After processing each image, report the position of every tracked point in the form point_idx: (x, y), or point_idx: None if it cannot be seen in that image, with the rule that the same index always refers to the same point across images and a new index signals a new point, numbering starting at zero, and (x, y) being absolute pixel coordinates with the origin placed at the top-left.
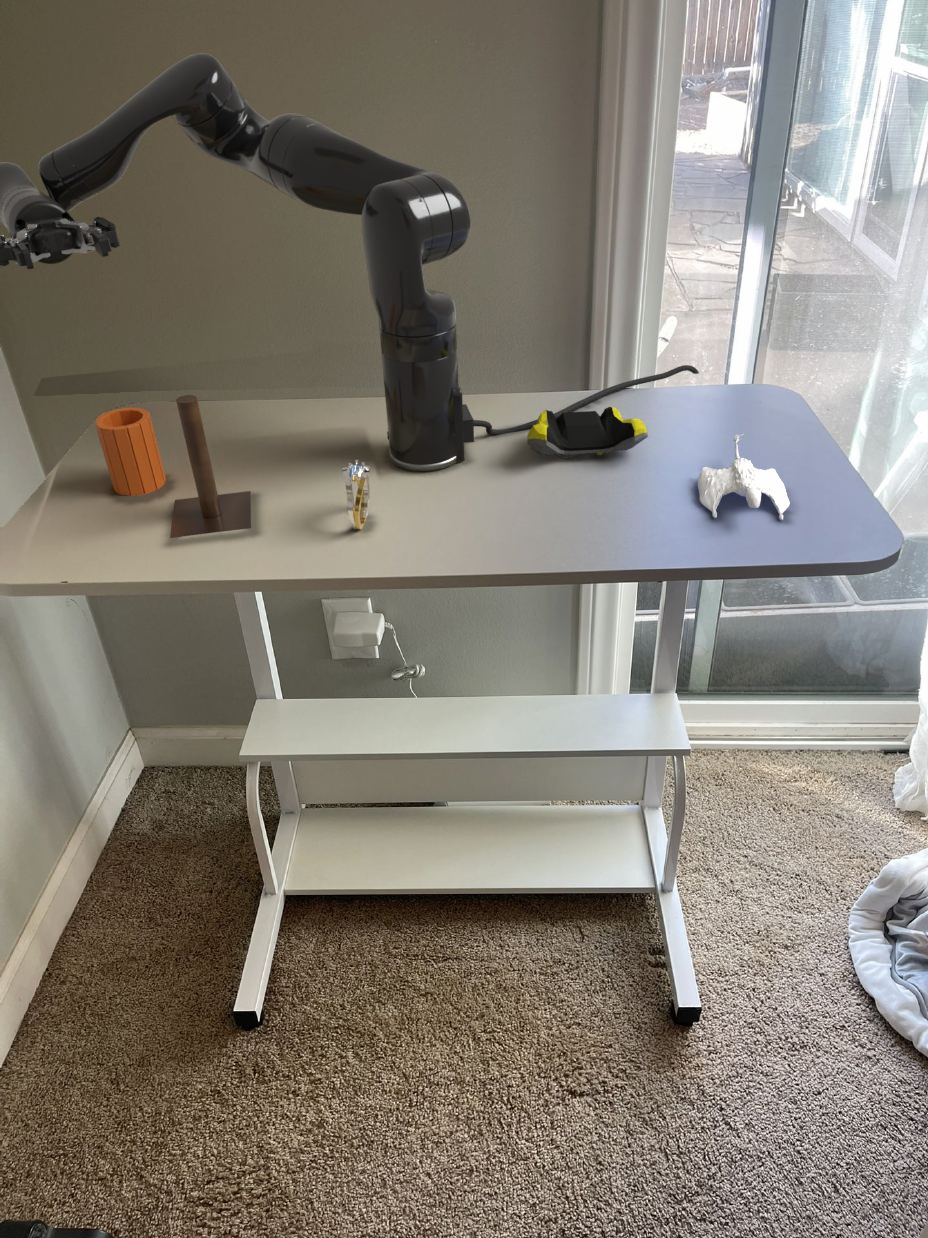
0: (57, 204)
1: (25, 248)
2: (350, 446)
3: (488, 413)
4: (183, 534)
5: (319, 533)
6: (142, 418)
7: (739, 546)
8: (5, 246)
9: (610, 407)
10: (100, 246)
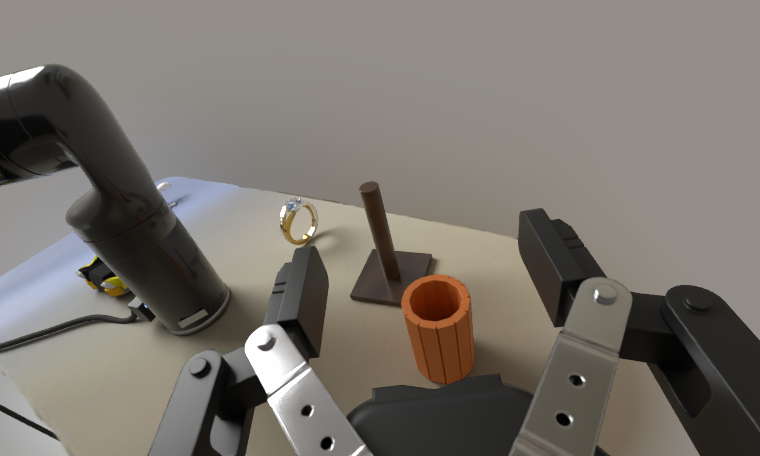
0: None
1: (532, 215)
2: (225, 353)
3: (87, 362)
4: (421, 255)
5: (334, 241)
6: (412, 289)
7: (193, 189)
8: (656, 317)
9: (80, 269)
10: (320, 258)
